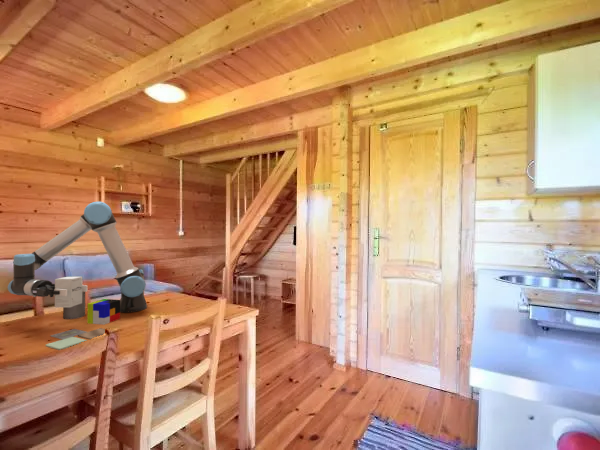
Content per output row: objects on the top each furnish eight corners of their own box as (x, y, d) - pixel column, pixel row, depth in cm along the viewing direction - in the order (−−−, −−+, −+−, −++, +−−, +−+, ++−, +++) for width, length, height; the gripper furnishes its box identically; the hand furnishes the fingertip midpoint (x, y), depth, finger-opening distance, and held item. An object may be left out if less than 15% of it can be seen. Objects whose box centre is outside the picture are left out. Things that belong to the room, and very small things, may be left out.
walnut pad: (100, 329, 143) (100, 328, 143) (114, 332, 139) (114, 331, 139) (77, 336, 134) (77, 335, 134) (91, 339, 130) (91, 338, 130)
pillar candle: (58, 318, 161) (59, 290, 161) (78, 313, 170) (78, 286, 170) (70, 320, 157) (70, 291, 157) (89, 315, 166) (89, 288, 166)
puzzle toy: (104, 324, 150) (104, 304, 150) (87, 323, 152) (87, 303, 152) (120, 318, 160) (120, 299, 160) (104, 317, 162) (104, 298, 162)
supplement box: (70, 307, 133) (71, 278, 133) (54, 307, 133) (54, 278, 133) (82, 303, 140) (83, 276, 140) (66, 303, 140) (67, 276, 140)
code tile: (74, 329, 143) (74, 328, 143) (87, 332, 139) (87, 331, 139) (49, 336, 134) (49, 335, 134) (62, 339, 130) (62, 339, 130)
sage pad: (72, 337, 132) (72, 336, 132) (86, 341, 128) (86, 340, 128) (45, 346, 123) (45, 344, 123) (59, 350, 119) (59, 348, 119)
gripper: (62, 291, 152) (98, 293, 146) (12, 301, 131) (51, 305, 125) (62, 276, 152) (98, 278, 146) (12, 284, 131) (51, 286, 125)
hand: (76, 290), depth 136 cm, fingers closed on supplement box, 9 cm apart
